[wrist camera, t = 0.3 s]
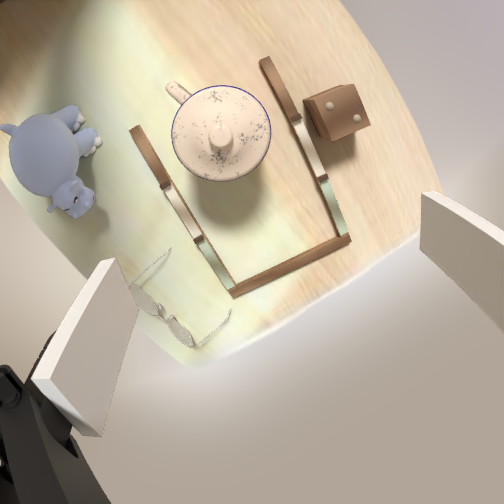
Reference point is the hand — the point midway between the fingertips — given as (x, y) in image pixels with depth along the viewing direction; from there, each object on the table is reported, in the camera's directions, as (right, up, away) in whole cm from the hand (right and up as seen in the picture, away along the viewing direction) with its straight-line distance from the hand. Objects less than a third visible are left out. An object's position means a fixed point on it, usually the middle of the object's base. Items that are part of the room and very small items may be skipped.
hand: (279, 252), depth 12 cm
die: (+8, +17, +22) cm, 29 cm away
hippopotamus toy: (-25, +12, +21) cm, 35 cm away
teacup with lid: (-6, +15, +22) cm, 27 cm away
